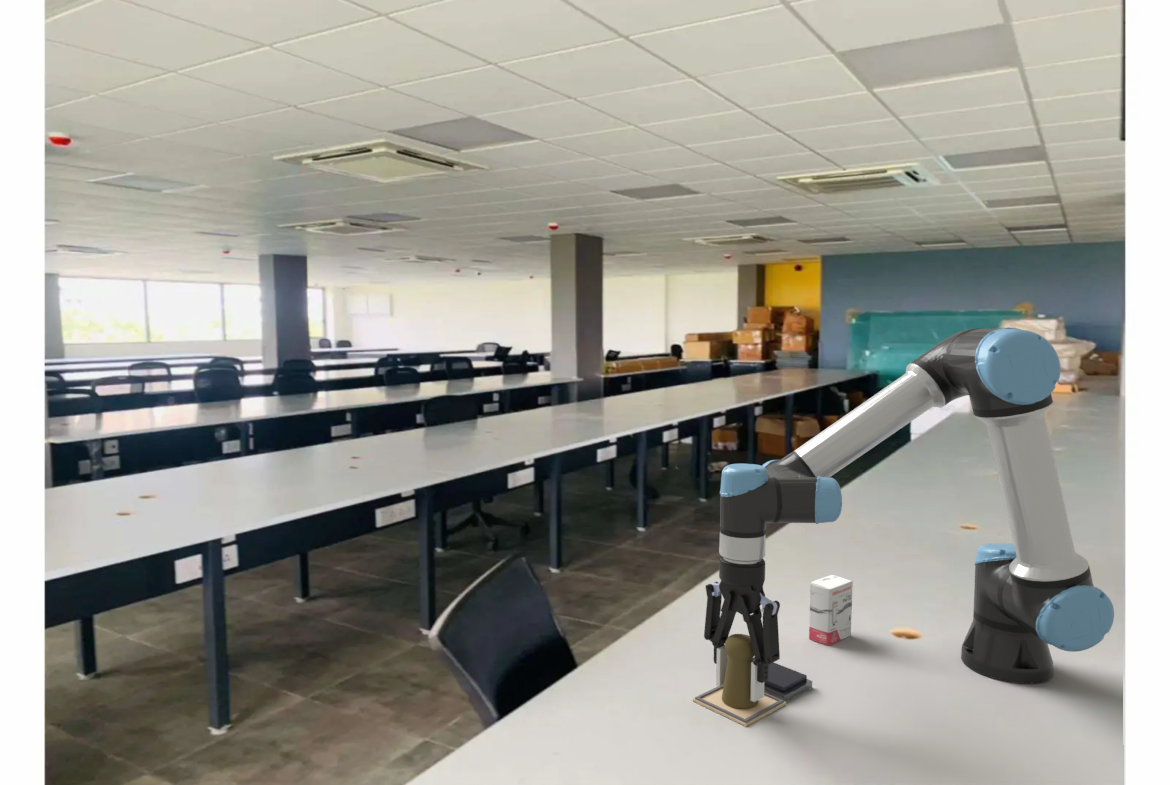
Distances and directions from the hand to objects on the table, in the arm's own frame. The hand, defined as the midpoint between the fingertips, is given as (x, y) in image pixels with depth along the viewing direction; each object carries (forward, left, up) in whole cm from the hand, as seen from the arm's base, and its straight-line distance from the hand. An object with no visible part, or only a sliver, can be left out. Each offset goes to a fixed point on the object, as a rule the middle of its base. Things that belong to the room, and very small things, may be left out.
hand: (739, 690), depth 129 cm
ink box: (+5, -36, -2) cm, 37 cm away
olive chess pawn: (0, 0, -2) cm, 2 cm away
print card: (0, 0, -2) cm, 2 cm away
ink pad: (+1, -10, -2) cm, 10 cm away
